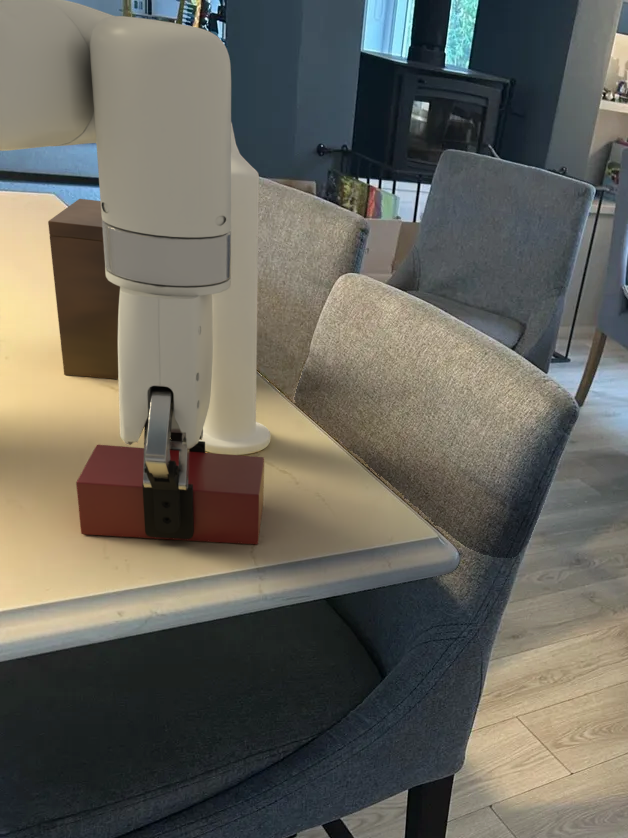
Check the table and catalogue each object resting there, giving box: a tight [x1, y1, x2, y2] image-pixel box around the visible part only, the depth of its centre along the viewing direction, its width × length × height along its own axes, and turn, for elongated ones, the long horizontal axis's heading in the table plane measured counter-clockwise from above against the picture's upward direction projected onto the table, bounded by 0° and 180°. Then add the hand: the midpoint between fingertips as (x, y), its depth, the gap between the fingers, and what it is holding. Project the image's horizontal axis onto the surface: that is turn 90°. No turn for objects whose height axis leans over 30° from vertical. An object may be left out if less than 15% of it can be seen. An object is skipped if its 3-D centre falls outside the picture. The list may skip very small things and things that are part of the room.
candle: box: [199, 122, 271, 456], centre depth 71 cm, size 7×7×25 cm
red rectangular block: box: [75, 444, 265, 545], centre depth 63 cm, size 6×12×4 cm, turn 97°
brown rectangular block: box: [47, 198, 120, 380], centre depth 88 cm, size 11×12×14 cm
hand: (177, 510), depth 64 cm, fingers closed on red rectangular block, 6 cm apart
